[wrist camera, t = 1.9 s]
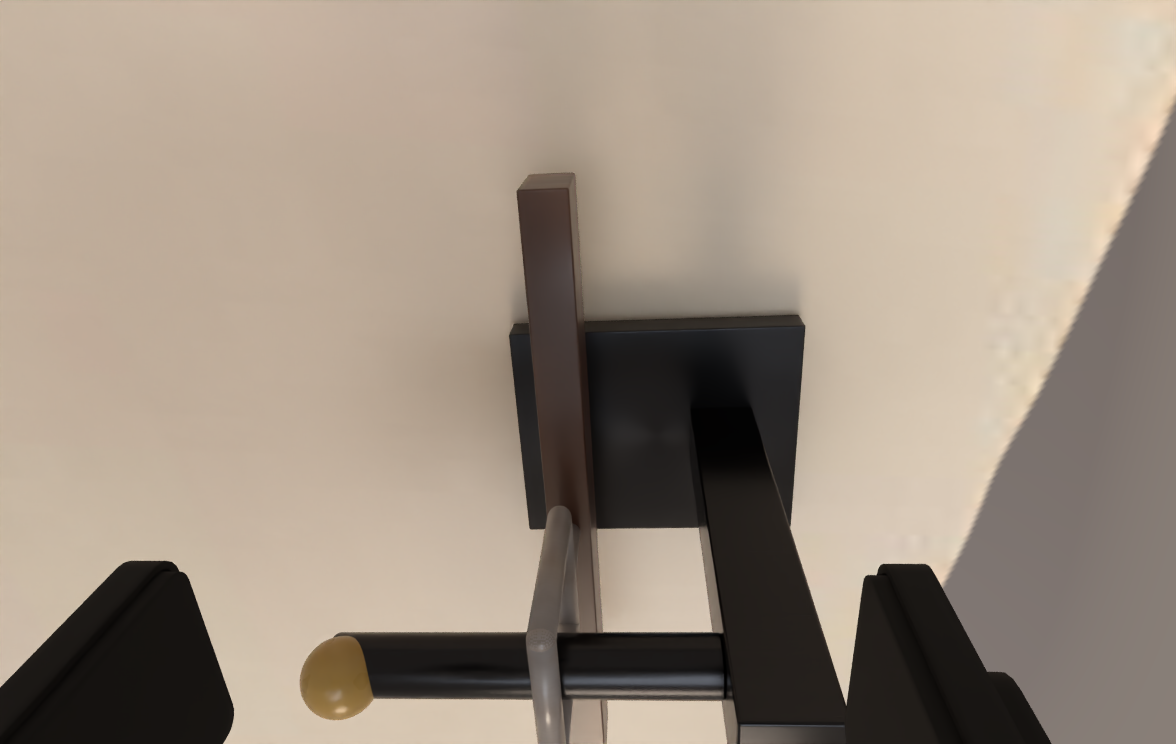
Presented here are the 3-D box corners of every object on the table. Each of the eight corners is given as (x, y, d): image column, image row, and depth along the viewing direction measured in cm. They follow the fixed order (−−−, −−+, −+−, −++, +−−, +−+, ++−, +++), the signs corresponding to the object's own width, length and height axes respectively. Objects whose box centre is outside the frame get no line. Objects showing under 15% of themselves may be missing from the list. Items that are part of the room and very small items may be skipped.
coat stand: (446, 514, 33) (305, 878, 19) (415, 326, 29) (210, 604, 15) (785, 510, 32) (907, 894, 18) (799, 314, 28) (968, 602, 14)
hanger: (574, 712, 31) (551, 976, 22) (527, 173, 21) (457, 267, 13) (607, 712, 31) (598, 977, 22) (575, 172, 21) (536, 265, 13)
